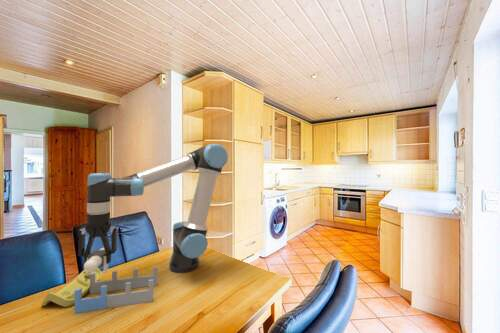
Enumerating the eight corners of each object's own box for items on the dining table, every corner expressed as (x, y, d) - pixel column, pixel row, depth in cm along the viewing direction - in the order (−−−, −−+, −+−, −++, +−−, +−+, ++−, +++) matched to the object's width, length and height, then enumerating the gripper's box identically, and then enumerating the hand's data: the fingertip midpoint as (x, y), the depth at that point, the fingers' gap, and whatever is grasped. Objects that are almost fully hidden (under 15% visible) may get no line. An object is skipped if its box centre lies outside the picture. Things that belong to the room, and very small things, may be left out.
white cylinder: (98, 257, 92) (98, 245, 92) (111, 256, 94) (112, 244, 94) (80, 275, 77) (80, 261, 77) (96, 273, 78) (96, 260, 78)
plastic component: (71, 302, 80) (46, 290, 80) (63, 319, 81) (38, 308, 80) (106, 272, 100) (86, 263, 100) (100, 286, 100) (80, 277, 100)
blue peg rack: (157, 284, 97) (157, 266, 97) (152, 301, 84) (152, 281, 84) (90, 292, 90) (91, 273, 90) (74, 313, 77) (74, 290, 77)
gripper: (126, 210, 92) (125, 265, 91) (76, 211, 87) (75, 270, 86) (121, 213, 84) (120, 274, 84) (66, 215, 79) (64, 280, 79)
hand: (97, 272), depth 85 cm, fingers closed on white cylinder, 5 cm apart
